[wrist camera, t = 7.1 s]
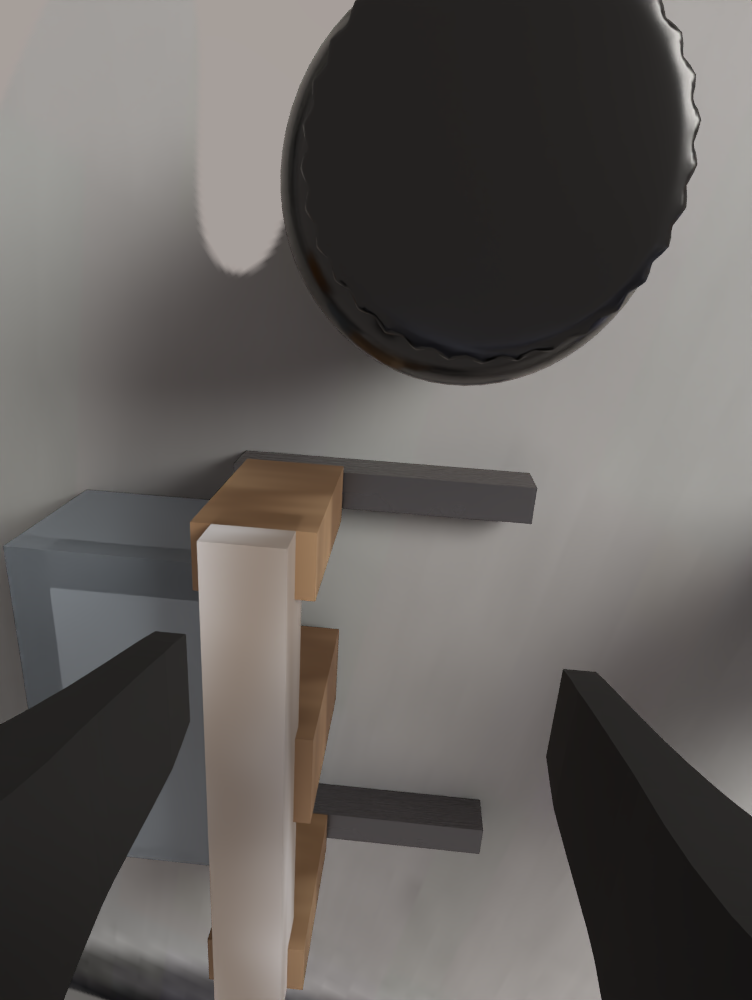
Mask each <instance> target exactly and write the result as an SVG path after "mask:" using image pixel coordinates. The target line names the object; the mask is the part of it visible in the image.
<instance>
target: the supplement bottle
mask: <svg viewBox="0 0 752 1000" xmlns="http://www.w3.org/2000/svg"><path fill="white" fill-rule="evenodd" d="M695 82H696V74H695V72H694V71H693V69H692V67H691V65H690V64H689V63H688V62H687V60H686V59H685V58H684V57H683V37H682V32H681V31H680V30H679V29H678V28H677V26H676V25H675V24H673V23H672V22H671V21H670V20H669V19H667V18H666V16H665V11H664V6H663V3H662V0H356V1H355V3H354V5H353V7H352V8H351V9H350V10H349V11H348V12H347V13H346V15H345V16H344V17H343V18H342V19H341V20H340V21H339V22H338V24H337V25H336V26H335V27H334V28H333V30H332V31H331V32H330V34H329V35H328V37H327V38H326V39H325V41H324V42H323V43H322V45H321V46H320V48H319V50H318V51H317V53H316V55H315V56H314V58H313V60H312V62H311V64H310V65H309V67H308V69H307V71H306V73H305V75H304V78H303V80H302V82H301V84H300V86H299V89H298V92H297V95H296V97H295V100H294V103H293V105H292V109H291V113H290V116H289V120H288V124H287V128H286V133H285V138H284V144H283V151H282V162H281V198H282V199H281V200H282V211H283V217H284V223H285V228H286V233H287V237H288V241H289V244H290V248H291V252H292V254H293V257H294V260H295V262H296V265H297V268H298V270H299V272H300V274H301V276H302V279H303V281H304V283H305V285H306V287H307V289H308V290H309V292H310V294H311V295H312V297H313V299H314V300H315V302H316V304H317V305H318V306H319V308H320V309H321V310H322V312H323V313H324V314H325V316H326V317H327V318H328V320H329V321H330V322H331V323H332V324H333V325H334V326H335V327H336V329H337V330H338V331H339V332H340V333H341V334H342V335H343V336H344V337H346V338H347V339H348V340H349V341H350V342H351V343H352V344H353V345H355V346H356V347H357V348H358V349H360V350H361V351H362V352H364V353H365V354H366V355H368V356H370V357H371V358H373V359H374V360H376V361H378V362H379V363H381V364H383V365H385V366H387V367H389V368H391V369H393V370H395V371H397V372H400V373H403V374H405V375H408V376H411V377H413V378H417V379H421V380H425V381H428V382H434V383H440V384H446V385H461V386H469V385H486V384H493V383H500V382H504V381H509V380H513V379H517V378H520V377H523V376H526V375H529V374H532V373H535V372H537V371H539V370H542V369H544V368H546V367H548V366H551V365H552V364H554V363H556V362H558V361H560V360H562V359H563V358H565V357H567V356H568V355H570V354H571V353H573V352H574V351H576V350H577V349H579V348H580V347H582V346H583V345H584V344H586V343H587V342H588V341H589V340H591V339H592V338H593V337H594V336H596V335H597V334H598V333H599V332H600V331H601V330H602V329H603V328H604V327H605V326H606V325H607V324H608V323H609V322H610V321H611V320H612V319H613V318H614V317H615V316H616V315H617V314H618V312H619V311H620V310H621V309H622V308H623V307H624V305H625V304H626V303H627V301H628V300H629V299H630V297H631V296H632V295H633V293H634V292H635V290H636V289H637V288H638V287H639V286H640V285H642V284H643V283H644V282H646V280H647V277H648V275H649V272H650V268H651V265H652V263H653V261H654V260H655V259H657V258H658V257H659V256H660V255H661V254H662V253H663V252H664V251H665V250H666V249H667V248H668V247H669V244H670V239H671V230H672V226H673V224H674V223H675V222H676V221H677V219H678V218H679V217H680V216H681V214H682V213H683V211H684V210H685V208H686V202H687V188H686V185H687V183H688V182H689V180H690V178H691V176H692V175H693V173H694V170H695V168H696V166H697V157H696V152H695V149H694V140H695V138H696V135H697V132H698V129H699V125H700V122H701V118H700V115H699V112H698V109H697V107H696V106H695V104H694V100H693V93H694V89H695Z"/></svg>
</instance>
